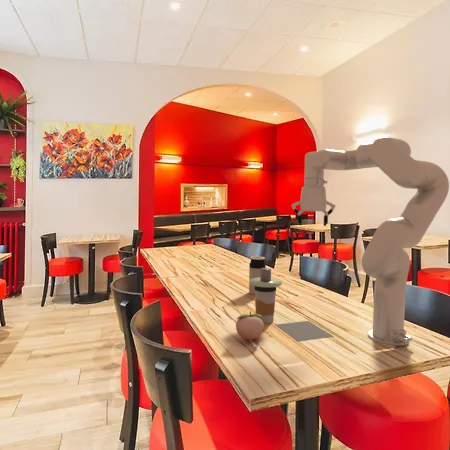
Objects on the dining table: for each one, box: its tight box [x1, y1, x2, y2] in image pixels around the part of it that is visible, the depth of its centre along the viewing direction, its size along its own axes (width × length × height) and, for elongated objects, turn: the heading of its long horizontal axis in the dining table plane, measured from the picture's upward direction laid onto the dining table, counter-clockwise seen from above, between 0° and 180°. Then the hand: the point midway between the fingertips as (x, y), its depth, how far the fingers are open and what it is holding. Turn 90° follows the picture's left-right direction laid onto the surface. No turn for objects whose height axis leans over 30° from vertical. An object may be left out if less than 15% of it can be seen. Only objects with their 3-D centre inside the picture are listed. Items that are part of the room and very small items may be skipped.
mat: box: [275, 320, 335, 342], centre depth 125 cm, size 16×14×1 cm
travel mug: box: [248, 255, 267, 296], centre depth 175 cm, size 8×8×18 cm
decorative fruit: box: [235, 311, 265, 342], centre depth 115 cm, size 9×8×10 cm
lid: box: [250, 267, 283, 288], centre depth 133 cm, size 12×12×6 cm
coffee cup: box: [254, 286, 277, 325], centre depth 133 cm, size 8×8×15 cm
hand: (312, 225), depth 143 cm, fingers open, 9 cm apart
